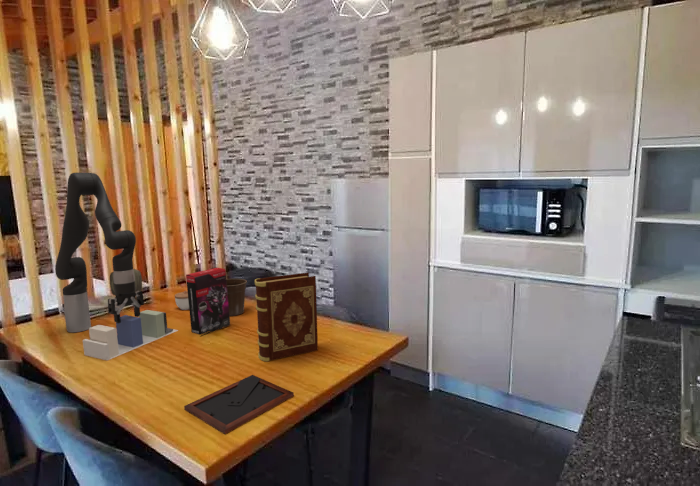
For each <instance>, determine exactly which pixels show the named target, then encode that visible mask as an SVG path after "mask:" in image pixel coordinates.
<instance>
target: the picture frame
mask: <svg viewBox="0 0 700 486" xmlns="http://www.w3.org/2000/svg"><path fill="white" fill-rule="evenodd" d="M291 398H294V392H293V391H291V390H289V389H286V388H284V387H282V386H279V385H277V384H275V383H273V382H271V381H268V380H265V379H264V378H261V377H259V376H257V375H255V374H251V375H249V376H247V377H244V378H242V379H240V380H238V381H235V382H234V383H232V384H228V385H227V386H225V387H223V388H220V389H218V390H216V391H214V392H211V393H209V394H207V395H205V396H203V397H201V398H199V399H196V400H194V401H192V402H190V403H187V404H185V405H184V406H183V409H184V411H186V412H187V413H189V414H191V415H193V416H194V417H196V418H197V419H199V420H200V421H202V422H204V423H205V424H207V425H209V426H210V427H212V428H214V429H215V430H217V431H219V432H220V433H222V434H224V435H227V434H228V433H230V432H232V431H233V430H236V429H237V428H239V427H241V426H243V425H244V424H246V423H248V422H250V421H251V420H254V419H255V418H258V417H259V416H260V415H263V414H264V413H266V412H268V411H269V410H271V409H273V408H275V407H277V406H278V405H280V404H282V403H284V402H285V401H288V400H289V399H291Z"/></svg>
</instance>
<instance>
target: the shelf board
mask: <svg viewBox="0 0 700 486" xmlns="http://www.w3.org/2000/svg"><path fill="white" fill-rule="evenodd" d="M172 329H173V331H170V332H168V333H165V335H164V336H161V337H159V338H155V337H150V336H145V335H142V336H143V344H141V345H139V346H136V347H134V348H133V347H128V346H124V345H119V344H118V350H119V354H118V355H116V356H114V357H111V358H110V354H109V345H108V344H107V343H102V342H97V341H93V340H90V339H88V338H84V339H82V348H83V352H84V353H83V354H84V356H85V357H86V356H87V357H90V358H95V359H99V360H103V361H109V360H112V359H114V358H116V357H119V356H121V355H124V354H125V353H129V352H130V351H133V350H135V349H138V348H140V347H142V346H145V345H147V344H151V343H152V342H154V341H157V340H160V339H161V338H165V337H166V336H169V335H171V334H173V333H176V332H178V331H179V330H178V329H174V328H172ZM117 341H118V338H117Z"/></svg>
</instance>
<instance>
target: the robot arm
mask: <svg viewBox="0 0 700 486" xmlns="http://www.w3.org/2000/svg"><path fill="white" fill-rule="evenodd" d="M81 196H94V197H95V198H96V201H97V202H96V205H95V209H94V215H95V219H96V221H97V222H98V224H99V225H100V227H101V229H102V232H103V237H104V243H105V246H106V247H107V248H108V249H110V250H112V251H116V250H121V252H120V253H118V254H117V255H114V256H112V272H113V281H114V292H115V294H116V296H115V297H113V298H108V299H107V312H108V314H110V315H113V320H114V323H115V324H116V323H121V318H120V317H121V314H120V313H121V312H122V310H123V309H124V307H127V306H131V305H132V306H133V316H134V317H139V316H140V312H141V306H142V305H144V304H145V301H144V295H143V291H142V290H141V291H136V292H135V290H136V287H135V275H134V270H133V269H134V263H133V260H134V259H133V257H134V252H135V247H136V243H137V239H136V235H135V233H134V232H133V231H131V230H129V229H126V230H120V229H121V227H122V222H121V220H120V218H119V217H118V215H117V214H116V212H115V210H114V209H113V207H112V204H111V202H110V199H109V197H108V194H107V191H106V188H105V186H104V183H103V181H102V180H101V178H100V176H99V175H98V174H97V173H95V172H72V173H70V174H69V176H68V178H67V187H66V204H65V205H66V207H65V214H64V220H63V225H62V232H61V234H62V235H61V240H60V245H59V246H60V247H59V249H58V254H57V258H56V262H55V267H54V269H55V271H54V273H55V276H56V277H57V279H58V280H61V281H65V280H71V281H72V282H70V283H69V284H67V285H66V286H64V287H63V288H62V296H63V297H62V298H63V306H64V311H63V312H64V319H65V326H66V327H65V328H66V330H67V332H68V333H79V332H83V331H88V330H89V328H90V327H92V324H91V322H92V321H91V314H90V307H89V306H90V305H89V304H90V303H89V298H88V275H87V274H88V273H87V270H88V269H87V264H86V261H85V260H84V258H83V257H80V256H74V255H73V254H74V253H75V252H76V251H77V249H79V247H80V246H81V245H82V244H83V243H84V242H85V241H86V239H87V237H88V234H89V229H90V220H89V218H88V216H87V214H86V213H85V212H84V210H83V208H82V206H81V205H80V203H81V202H80V199H81ZM73 256H74V257H73ZM72 279H73V280H72Z"/></svg>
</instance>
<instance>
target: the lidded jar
mask: <svg viewBox="0 0 700 486" xmlns="http://www.w3.org/2000/svg"><path fill="white" fill-rule="evenodd" d="M174 300H175V304H176V306H177V307H178V309H180V310H181V311H182V310H183V311H187V310H189V301H188V291H187V290H184V291H182V292H177V293H175V294H174Z"/></svg>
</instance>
